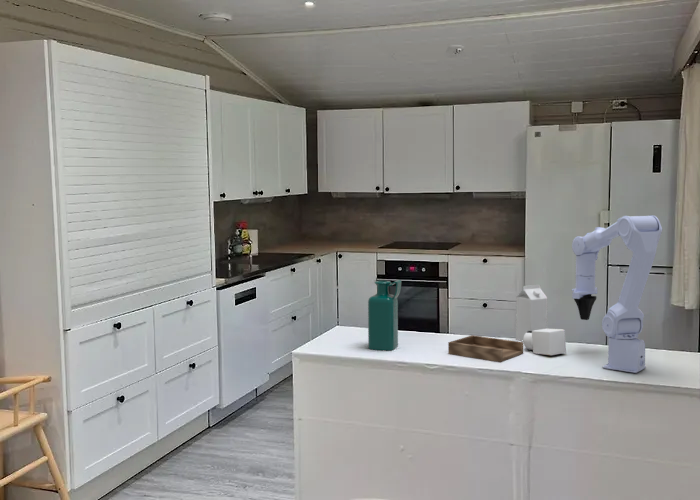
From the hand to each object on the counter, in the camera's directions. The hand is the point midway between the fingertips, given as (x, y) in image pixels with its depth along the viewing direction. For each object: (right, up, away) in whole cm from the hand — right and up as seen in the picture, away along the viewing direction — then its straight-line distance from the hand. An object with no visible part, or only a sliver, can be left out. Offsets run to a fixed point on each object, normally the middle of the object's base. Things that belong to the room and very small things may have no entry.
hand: (584, 319), depth 217 cm
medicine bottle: (-9, -7, -4) cm, 12 cm away
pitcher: (-61, -11, +10) cm, 63 cm away
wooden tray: (-30, -11, +1) cm, 32 cm away
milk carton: (-12, -10, +17) cm, 23 cm away
